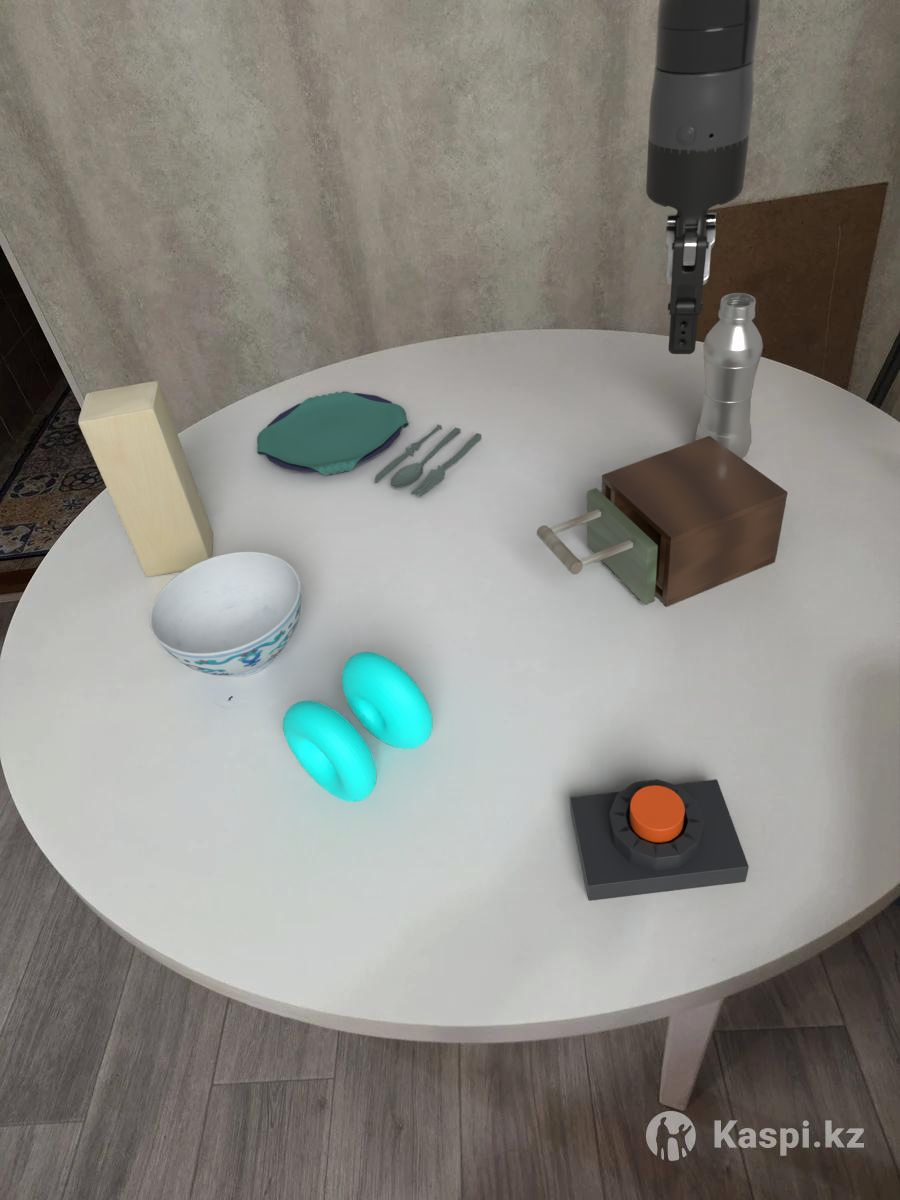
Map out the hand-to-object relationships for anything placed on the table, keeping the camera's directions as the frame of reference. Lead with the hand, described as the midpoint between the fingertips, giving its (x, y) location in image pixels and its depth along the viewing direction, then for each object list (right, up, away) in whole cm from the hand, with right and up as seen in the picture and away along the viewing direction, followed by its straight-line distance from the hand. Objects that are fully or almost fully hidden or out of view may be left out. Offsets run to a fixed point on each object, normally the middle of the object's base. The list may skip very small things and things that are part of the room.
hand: (682, 329), depth 77 cm
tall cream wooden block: (-53, -19, +28) cm, 63 cm away
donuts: (-28, -39, +1) cm, 48 cm away
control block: (-5, -44, -8) cm, 45 cm away
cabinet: (+5, -19, +17) cm, 26 cm away
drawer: (-1, -20, +15) cm, 25 cm away
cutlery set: (-33, -4, +41) cm, 52 cm away
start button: (-5, -41, -11) cm, 43 cm away
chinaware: (-42, -30, +13) cm, 53 cm away
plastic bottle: (+13, -7, +30) cm, 33 cm away
